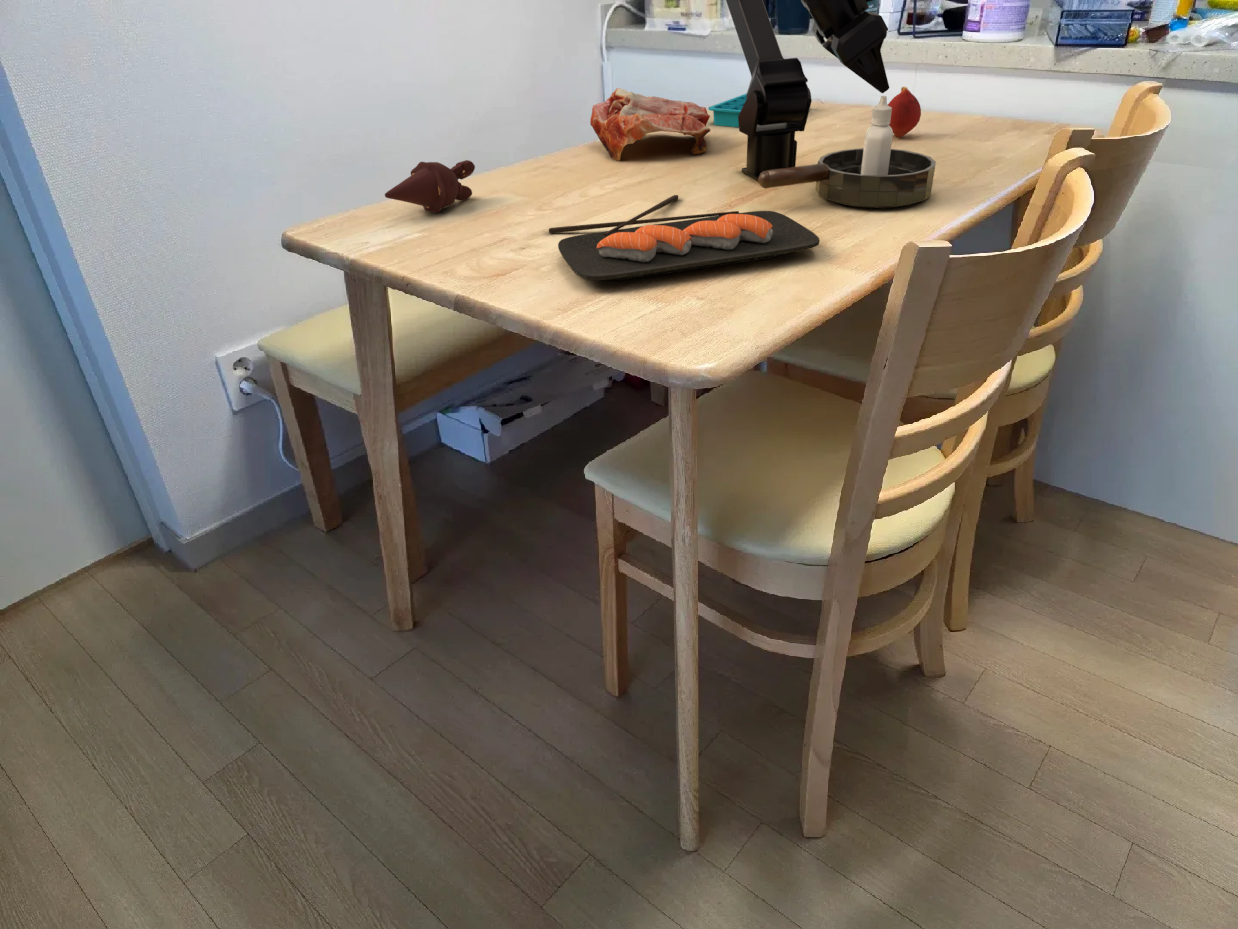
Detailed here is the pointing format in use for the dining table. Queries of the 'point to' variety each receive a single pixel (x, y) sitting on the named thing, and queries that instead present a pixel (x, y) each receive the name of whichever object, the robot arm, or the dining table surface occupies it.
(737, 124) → the ice cube tray
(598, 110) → the meat
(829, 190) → the dark frying pan
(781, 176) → the handle
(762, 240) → the sushi plate
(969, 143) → the dining table surface
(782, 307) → the dining table surface
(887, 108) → the eye dropper bottle
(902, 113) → the onion
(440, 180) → the icecream
